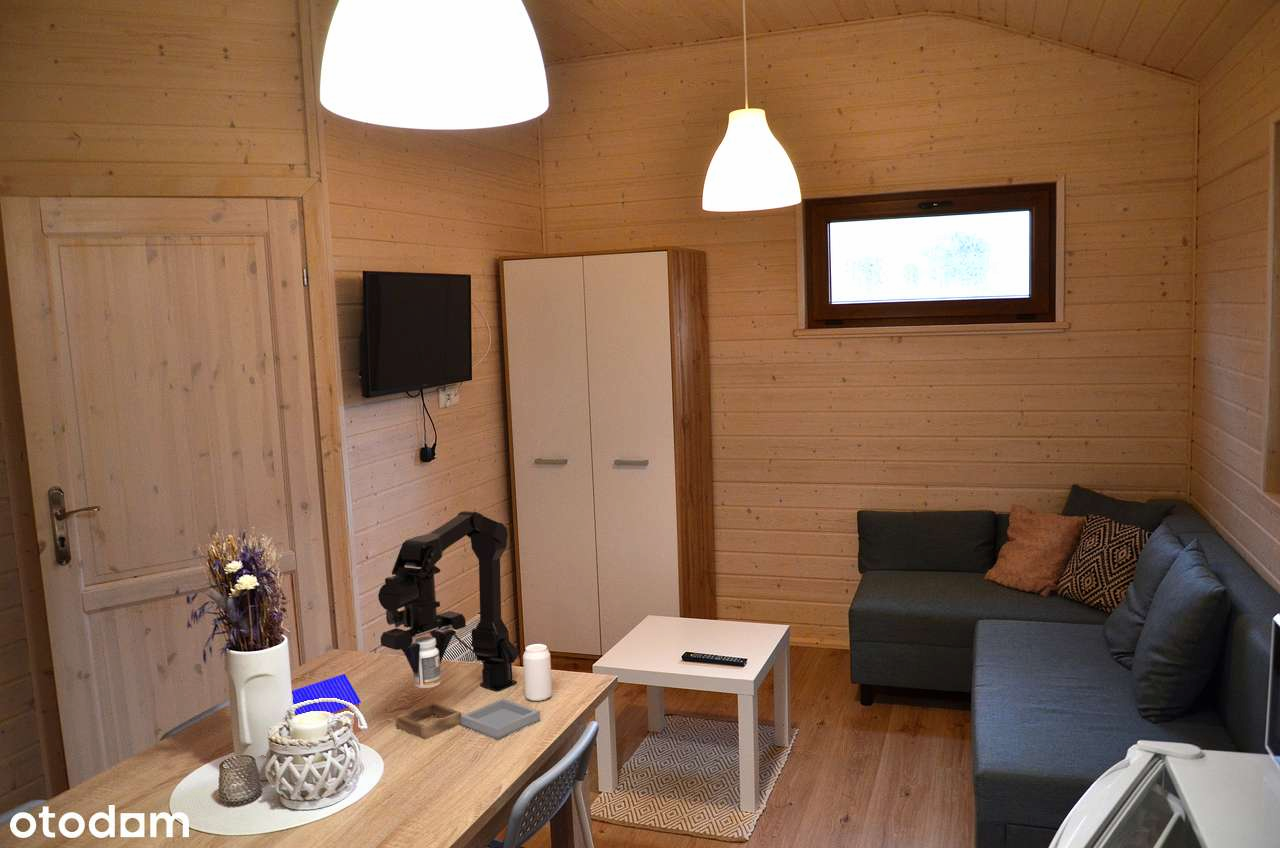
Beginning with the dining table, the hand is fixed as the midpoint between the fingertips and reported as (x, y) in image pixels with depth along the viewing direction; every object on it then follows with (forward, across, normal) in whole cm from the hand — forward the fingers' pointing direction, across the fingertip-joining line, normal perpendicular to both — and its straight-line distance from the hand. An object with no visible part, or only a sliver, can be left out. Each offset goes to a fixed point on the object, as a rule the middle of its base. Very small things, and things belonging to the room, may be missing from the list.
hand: (426, 668), depth 213 cm
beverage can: (+13, -25, +8) cm, 29 cm away
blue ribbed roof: (+13, +20, -17) cm, 29 cm away
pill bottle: (+4, 0, 0) cm, 4 cm away
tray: (+13, -10, +12) cm, 20 cm away
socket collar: (+13, 0, 0) cm, 13 cm away
